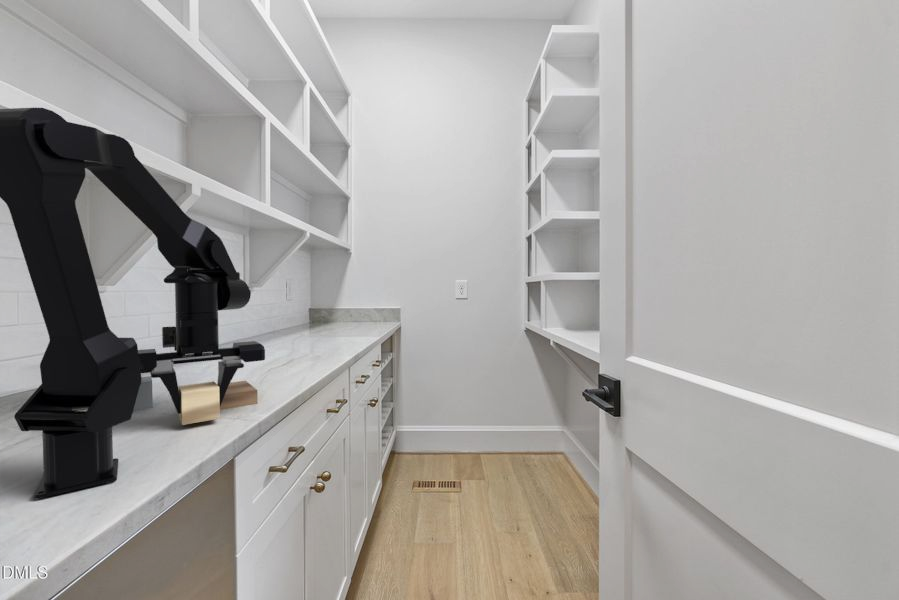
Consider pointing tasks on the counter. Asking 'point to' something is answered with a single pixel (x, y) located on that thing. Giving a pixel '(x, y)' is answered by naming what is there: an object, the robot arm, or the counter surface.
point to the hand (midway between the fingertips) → (199, 409)
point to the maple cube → (199, 402)
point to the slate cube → (144, 394)
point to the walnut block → (239, 395)
